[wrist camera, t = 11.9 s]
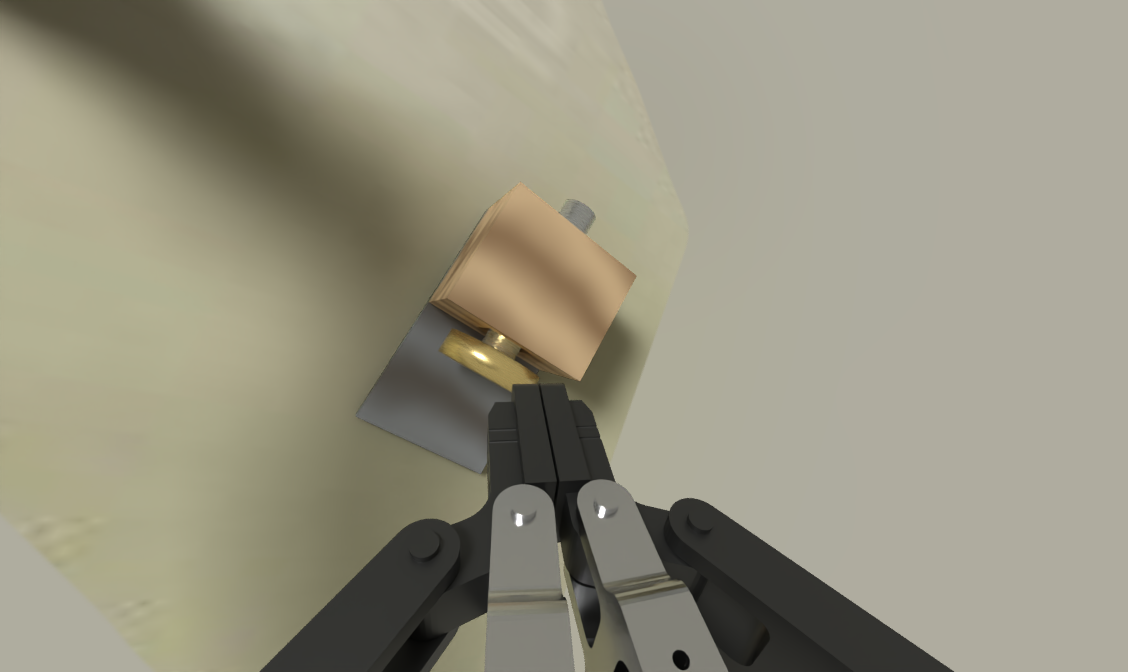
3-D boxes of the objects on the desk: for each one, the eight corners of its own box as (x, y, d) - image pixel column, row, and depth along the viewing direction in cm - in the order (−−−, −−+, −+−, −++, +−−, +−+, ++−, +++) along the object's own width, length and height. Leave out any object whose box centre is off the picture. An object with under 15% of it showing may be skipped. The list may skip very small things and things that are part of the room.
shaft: (508, 391, 39) (542, 408, 32) (430, 347, 36) (448, 355, 29) (591, 245, 42) (639, 230, 35) (526, 193, 39) (564, 165, 32)
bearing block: (477, 470, 40) (509, 512, 32) (355, 414, 36) (354, 444, 27) (583, 283, 44) (636, 275, 36) (485, 211, 40) (520, 182, 31)
